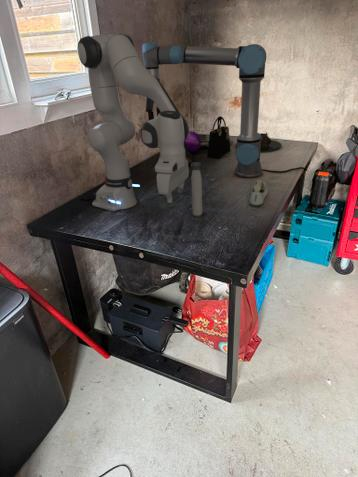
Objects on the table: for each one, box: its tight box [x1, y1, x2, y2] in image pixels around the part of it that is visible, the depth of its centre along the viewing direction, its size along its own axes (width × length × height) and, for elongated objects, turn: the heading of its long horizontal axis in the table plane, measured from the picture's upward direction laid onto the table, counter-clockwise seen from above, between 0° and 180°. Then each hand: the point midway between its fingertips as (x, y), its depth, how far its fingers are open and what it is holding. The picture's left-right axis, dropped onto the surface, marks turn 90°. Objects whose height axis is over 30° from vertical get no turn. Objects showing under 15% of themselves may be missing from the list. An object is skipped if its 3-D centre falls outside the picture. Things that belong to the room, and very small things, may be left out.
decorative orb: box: [185, 130, 201, 154], centre depth 230 cm, size 15×15×15 cm
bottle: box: [190, 169, 203, 217], centre depth 143 cm, size 4×4×23 cm
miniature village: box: [235, 132, 282, 154], centre depth 237 cm, size 32×35×9 cm
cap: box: [190, 161, 202, 171], centre depth 137 cm, size 4×4×2 cm
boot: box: [184, 141, 194, 164], centre depth 209 cm, size 9×24×20 cm, turn 168°
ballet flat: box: [249, 179, 269, 207], centre depth 158 cm, size 8×24×8 cm, turn 163°
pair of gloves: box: [199, 134, 234, 149], centre depth 251 cm, size 30×26×5 cm
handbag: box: [206, 115, 231, 159], centre depth 220 cm, size 21×9×25 cm, turn 148°
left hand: (175, 197), depth 122 cm, fingers open, 8 cm apart
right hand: (156, 122), depth 176 cm, fingers open, 13 cm apart
